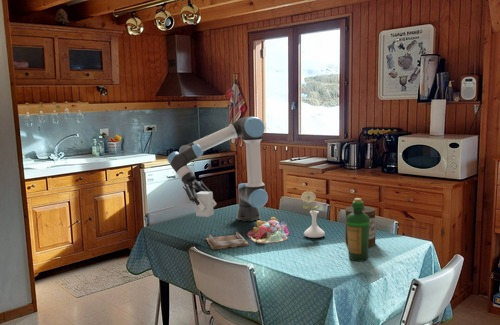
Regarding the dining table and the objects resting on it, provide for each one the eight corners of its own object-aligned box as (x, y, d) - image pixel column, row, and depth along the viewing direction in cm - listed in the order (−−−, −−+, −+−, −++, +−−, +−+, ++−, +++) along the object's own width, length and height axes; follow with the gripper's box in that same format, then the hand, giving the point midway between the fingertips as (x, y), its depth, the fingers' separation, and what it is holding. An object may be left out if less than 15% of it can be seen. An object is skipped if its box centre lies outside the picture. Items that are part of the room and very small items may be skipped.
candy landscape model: (240, 234, 265) (240, 218, 264) (278, 228, 274) (278, 213, 273) (258, 245, 242) (258, 228, 241) (299, 239, 251) (298, 222, 250)
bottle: (343, 255, 221) (343, 197, 218) (365, 254, 222) (365, 195, 219) (350, 263, 211) (349, 201, 207) (373, 261, 211) (373, 200, 208)
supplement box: (213, 214, 259) (213, 191, 257) (208, 217, 252) (207, 194, 250) (201, 213, 262) (201, 190, 260) (195, 216, 255) (194, 193, 253)
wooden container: (358, 250, 229) (358, 205, 226) (339, 242, 242) (339, 200, 239) (381, 244, 235) (381, 201, 233) (361, 238, 249) (361, 197, 246)
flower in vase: (327, 234, 257) (326, 189, 254) (321, 240, 246) (320, 193, 243) (304, 232, 262) (303, 188, 259) (298, 238, 252) (297, 192, 249)
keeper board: (239, 236, 259) (239, 230, 259) (248, 245, 242) (248, 239, 241) (205, 240, 254) (205, 234, 254) (212, 249, 237) (211, 243, 236)
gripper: (196, 177, 272) (218, 207, 265) (169, 183, 255) (192, 215, 248) (202, 168, 268) (225, 199, 261) (175, 174, 251) (199, 207, 244)
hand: (209, 207), depth 254 cm, fingers closed on supplement box, 9 cm apart
